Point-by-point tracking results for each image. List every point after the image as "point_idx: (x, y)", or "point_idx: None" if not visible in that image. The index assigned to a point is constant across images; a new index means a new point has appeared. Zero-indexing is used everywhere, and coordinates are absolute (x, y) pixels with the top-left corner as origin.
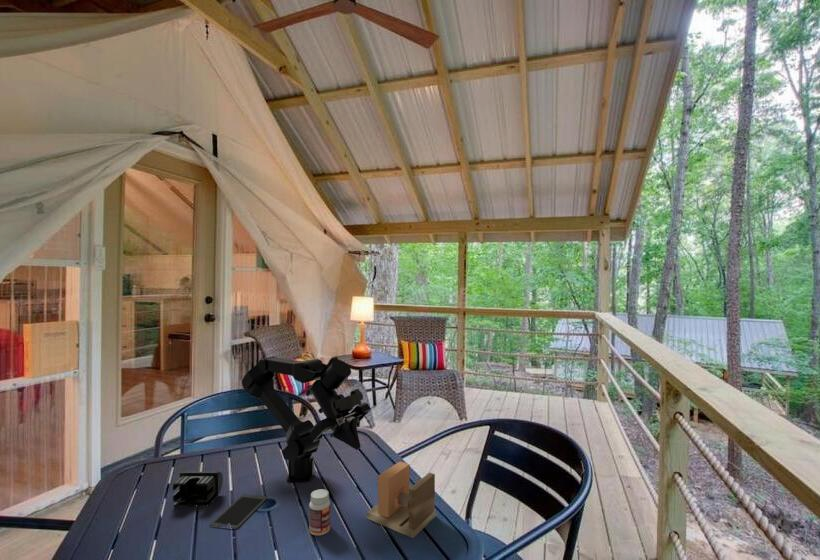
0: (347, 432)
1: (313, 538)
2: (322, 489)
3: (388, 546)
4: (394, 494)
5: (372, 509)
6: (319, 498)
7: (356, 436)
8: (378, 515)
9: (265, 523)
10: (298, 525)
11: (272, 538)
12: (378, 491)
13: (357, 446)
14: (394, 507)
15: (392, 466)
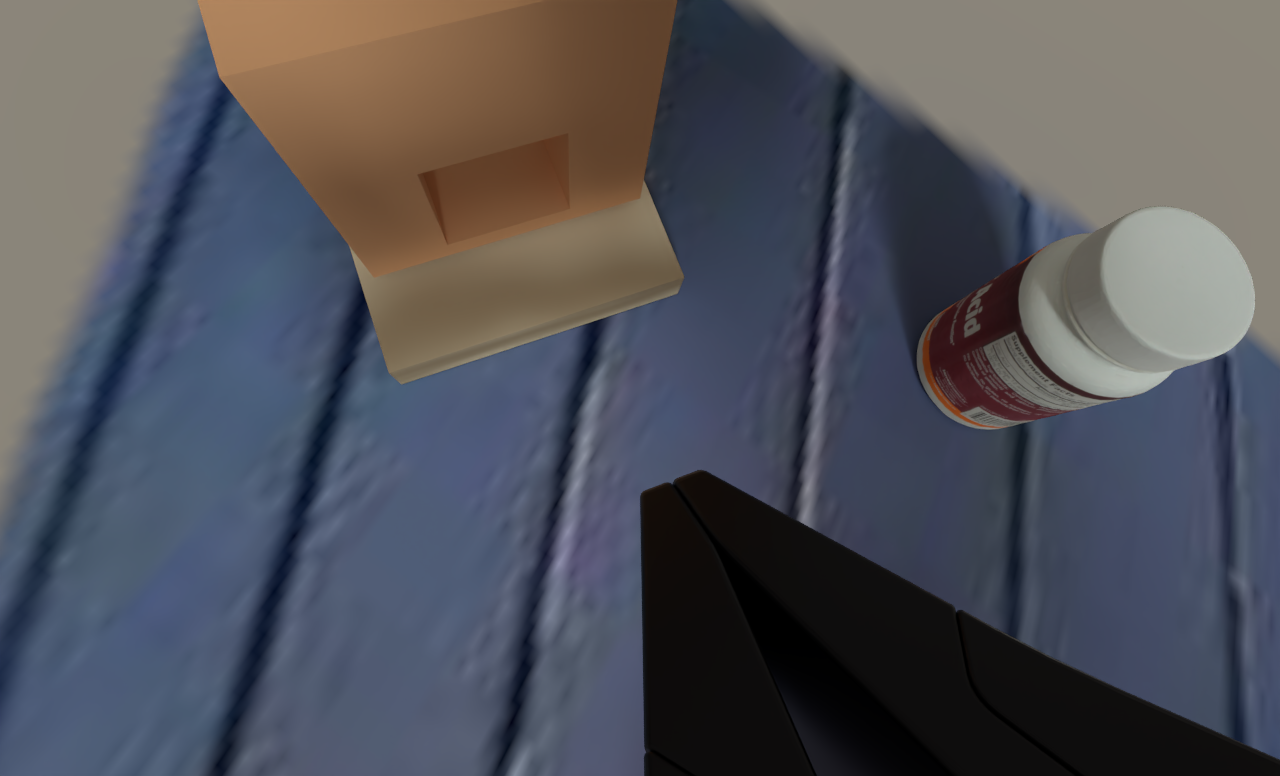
0: (1198, 728)
1: None
2: (1142, 330)
3: (702, 26)
4: (439, 226)
5: (634, 281)
6: (1194, 216)
7: (720, 663)
8: (637, 200)
9: (1265, 642)
10: (1079, 489)
11: (1235, 456)
12: (658, 87)
13: (727, 483)
14: (522, 149)
15: (406, 25)
